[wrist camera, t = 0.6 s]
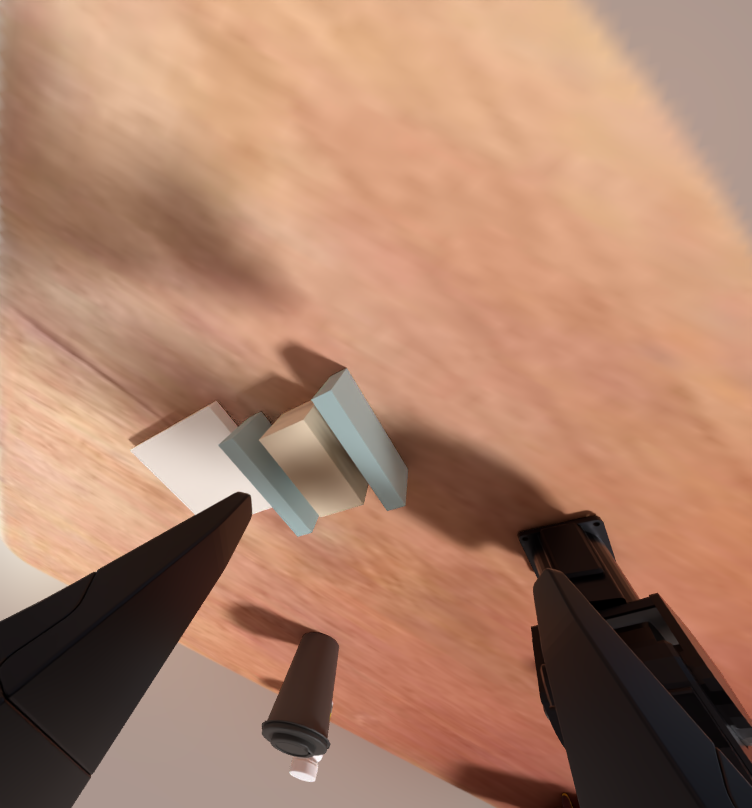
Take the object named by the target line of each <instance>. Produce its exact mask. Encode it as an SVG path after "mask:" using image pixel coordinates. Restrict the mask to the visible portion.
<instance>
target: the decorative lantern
mask: <svg viewBox="0 0 752 808" xmlns="http://www.w3.org/2000/svg"><path fill="white" fill-rule="evenodd" d="M562 803H563V808H573V807H572V805H571V802H570V799H569V797H568V795H567V794H566V793H563V794H562Z"/></svg>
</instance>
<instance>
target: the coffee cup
mask: <svg viewBox="0 0 752 808" xmlns="http://www.w3.org/2000/svg"><path fill="white" fill-rule="evenodd" d="M338 651H339V645H338V643H337V642H336V641H335V640H334V639H333V638H331V637H329V636H327V635H325V634H321V633H315V632H312V633H307V634H305V635H304V636H303V637H302V639H301V642H300V644H299V646H298V649H297V651H296V654H295V656H294V658H293V661H292V663H291V665H290V668H289V670H288V673H287V675H286V677H285V680H284V682H283V684H282V687H281V689H280V692H279V694H278V696H277V699H276V701H275V703H274V706H273V708H272V711H271V713H270V715H269V718H268V720H267V721H265V722H263V723H262V735H263V736H264V738H266V739H267V740H268V741H269V742H271V744H272V746H273V747H274V748H276V749H277V750H279V751H281V752H283V753H286V754H288V755H292V756H295V757H301V758H310V757H313V756H319V755H323V754H325V753H326V751H327V749H328V748H329V747H330V742H329V740H328V739H327V737H328V730H329V722H330V714H331V706H332V698H333V690H334V682H335V675H336V667H337V659H338Z"/></svg>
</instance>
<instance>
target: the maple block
mask: <svg viewBox="0 0 752 808" xmlns="http://www.w3.org/2000/svg"><path fill="white" fill-rule="evenodd" d="M259 441H260V442H261V443H262V445H263V446H264V447H265V448H266V450H267V451H268V452H269V453H270V455H271V456H272V457H273V458H274V460H275V461H276V462H277V463H278V465H279V466H280V467H281V468H282V470H283V471H284V472H285V473H286V475H287V476H288V477H289V478H290V480H291V481H292V482H293V484H294V485H295V486H296V487H297V489H298V490H299V491H300V492H301V494H302V495H303V496H304V497H305V499H306V500H307V501H308V502H309V504H310V505H311V506H312V507H313V509H314V510H315V511H316V512H317V514H318V515H319V516H320V517H324V516H327V515H331V514H334V513H337V512H341V511H344V510H347V509H351V508H354V507H358V506H361V505H364V501H365V496H366V492H367V488H368V482H367V481H366V479H365V478H364V476H363V475H362V473H361V472H360V471H359V469H358V468H357V466H356V465H355V463H354V462H353V460H352V459H351V457H350V456H349V454H348V453H347V451H346V450H345V449H344V447H343V446H342V444H341V443H340V441H339V440H338V438H337V437H336V435H335V434H334V432H333V431H332V430H331V428H330V427H329V425H328V424H327V422H326V421H325V419H324V418H323V416H322V415H321V413H320V412H319V411H318V409H317V408H316V406H315V405H314V403H313V402H312V400H311V401H308V402H306V403H304V404H302V405H300V406H298V407H296V408H294V409H292V410H289V411H287V412H285V413H283V414H282V415H281V416H280V417H279V418H278V419H277V420H276V421H275V423H274V424H273V425H272V426H271V427H270V428H269V429H268V430H267V431H266V432H265V434H264V435H263V436H262V437H261V438H260V439H259Z"/></svg>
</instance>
